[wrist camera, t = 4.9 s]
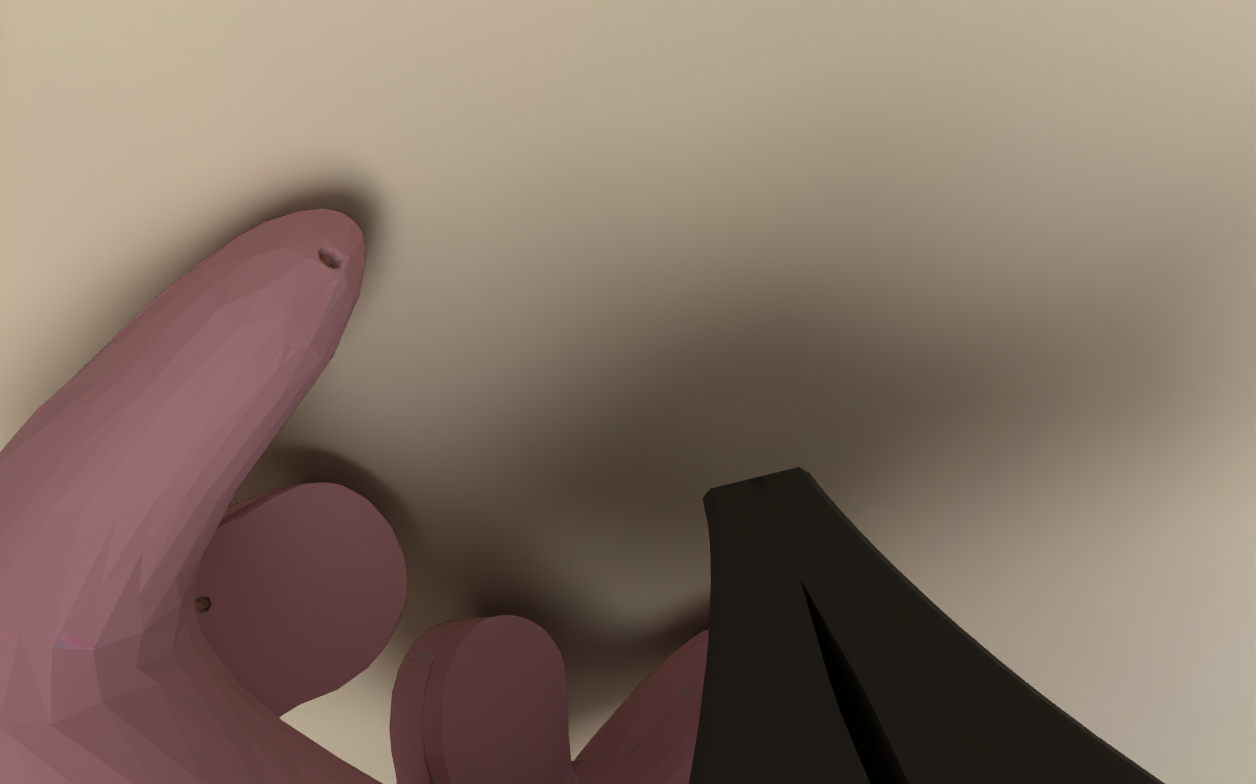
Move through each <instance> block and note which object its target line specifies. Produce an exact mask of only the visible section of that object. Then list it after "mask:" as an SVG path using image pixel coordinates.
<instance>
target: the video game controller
mask: <svg viewBox="0 0 1256 784" xmlns="http://www.w3.org/2000/svg"><path fill="white" fill-rule="evenodd" d="M365 260H366V252H365V244H364V237H363V232H362V231H361V229H360V228H359V226H358V225H357V224H356V223H355V222H354V221H353V220H351V219H350V218H349V217H348V216H346V215H345V214H344V213H341V212H337V211H334V210H328V209H323V208H322V209H314V210H306V211H298V212H294V213H291V214H288V215H285V216H281V217H278V218H274V219H270V220H266V221H264V222H262V223H260V224H258V225H257V226H255V227H253V228H251V229H249V230H248V231H246V232H244V233H242V234H240V235H238V236H237V237H235V238H234V239H232V240H231V241H230V242H228V243H227V244H225V245H224V246H223V247H221V248H220V249H218V250H217V251H216V252H214V253H213V254H211V255H210V256H209V257H207V258H206V259H204V260H203V261H202V262H200V263H199V264H197V265H196V266H195V267H193V268H192V269H191V270H190V271H189V272H187V273H186V274H185V275H184V276H182V277H181V278H180V279H179V280H178V281H176V282H175V283H174V284H173V285H171V286H170V287H169V288H168V289H167V290H165V291H164V292H163V293H162V294H160V295H159V296H158V297H157V298H156V299H154V300H153V301H152V302H151V303H149V304H148V305H147V306H146V307H145V308H143V309H142V310H141V311H140V312H139V313H138V314H137V315H136V316H135V317H134V318H133V319H132V320H131V321H130V322H129V323H128V324H127V325H126V326H125V327H124V328H123V329H122V330H121V331H120V332H119V333H118V334H117V335H116V336H115V337H114V338H113V339H112V340H111V341H110V342H109V343H108V344H107V345H106V346H105V347H104V348H103V349H102V350H101V351H100V352H99V353H98V354H97V355H96V356H95V357H94V358H93V359H92V360H91V361H89V362H88V363H87V364H86V365H85V366H84V367H83V368H82V369H81V370H80V371H79V372H78V373H77V374H76V375H75V376H74V377H73V378H72V379H71V380H70V381H69V382H68V383H67V384H65V385H64V386H63V387H62V388H61V389H60V390H59V391H58V392H56V393H55V394H54V395H53V396H52V397H51V398H50V399H49V400H47V401H46V402H45V403H44V404H43V405H42V406H41V407H40V408H38V410H37V411H36V412H35V413H34V414H33V415H32V416H31V417H30V418H29V419H28V420H27V422H26V423H25V424H24V425H23V426H22V427H21V429H20V430H19V431H18V432H17V433H16V435H15V436H14V437H13V438H12V439H11V440H10V442H9V443H8V444H7V445H6V446H5V447H4V449H3V450H2V451H1V452H0V784H382V783H380V782H379V781H377V780H375V779H374V778H372V777H370V776H369V775H367V774H365V773H364V772H362V771H360V770H358V769H357V768H355V767H353V766H352V765H350V764H348V763H347V762H345V761H343V760H342V759H340V758H338V757H337V756H335V755H334V754H332V753H331V752H329V751H327V750H326V749H324V748H323V747H321V746H320V745H318V744H317V743H315V742H314V741H312V740H311V739H309V738H308V737H306V736H305V735H303V734H302V733H300V732H299V731H297V730H296V729H294V728H293V727H291V726H290V725H288V724H287V723H285V722H284V721H282V720H281V719H280V718H279V717H280V716H282V715H283V714H285V713H287V712H288V711H290V710H291V709H293V708H295V707H296V706H298V705H300V704H302V703H304V702H307V701H309V700H312V699H315V698H317V697H320V696H322V695H325V694H327V693H330V692H333V691H335V690H338V689H339V688H340V687H342V686H343V685H344V684H346V683H347V682H349V681H350V680H351V679H353V678H354V677H355V676H357V675H358V674H360V673H361V672H362V671H364V670H365V669H366V668H368V667H369V666H370V664H371V663H372V662H373V661H374V660H375V658H376V657H377V656H378V655H379V654H380V652H381V651H382V650H383V649H384V648H385V646H386V645H387V643H388V641H389V640H390V638H391V636H392V634H393V633H394V631H395V628H396V626H397V624H398V621H399V619H400V616H401V614H402V611H403V607H404V604H405V601H406V597H407V580H408V579H407V570H406V561H405V558H404V555H403V553H402V550H401V547H400V544H399V542H398V540H397V538H396V536H395V534H394V531H393V529H392V527H391V526H390V524H389V523H388V522H387V521H386V519H385V518H384V517H383V516H382V514H381V513H380V512H379V511H378V510H377V509H376V508H375V507H374V506H373V505H372V504H371V503H370V502H369V500H367V499H366V498H364V497H363V496H361V495H359V494H358V493H356V492H355V491H353V490H351V489H348V488H346V487H344V486H342V485H339V484H333V483H327V482H319V483H308V484H300V485H295V486H290V487H285V488H280V489H275V490H272V491H269V492H266V493H263V494H260V495H257V496H254V497H252V498H249V499H246V500H243V501H241V502H239V503H236V504H234V505H232V506H230V507H229V505H230V503H231V501H232V500H233V498H234V496H235V494H236V492H237V490H238V488H239V487H240V485H241V483H242V482H243V481H244V479H245V478H246V476H247V475H248V474H249V472H250V471H251V469H252V468H253V467H254V465H255V464H256V463H257V461H258V460H259V458H260V457H261V456H262V454H263V453H264V451H265V450H266V449H267V447H268V446H269V445H270V443H271V442H272V440H273V439H274V438H275V436H276V435H277V433H278V432H279V431H280V429H281V428H282V426H283V425H284V424H285V422H286V421H287V420H288V418H289V417H290V415H291V414H292V413H293V411H294V410H295V408H296V407H297V406H298V404H299V403H300V402H301V400H302V399H303V397H304V396H305V395H306V393H307V392H308V390H309V389H310V388H311V386H312V385H313V384H314V382H315V381H316V379H317V378H318V377H319V375H320V374H321V372H322V371H323V370H324V368H325V367H326V365H327V364H328V363H329V361H330V360H331V359H332V357H333V355H334V353H335V350H336V348H337V346H338V343H339V341H340V339H341V336H342V334H343V332H344V329H345V327H346V325H347V322H348V320H349V318H350V315H351V313H352V310H353V308H354V306H355V303H356V301H357V299H358V296H359V293H360V287H361V282H362V276H363V271H364V266H365ZM708 634H709V629H707V630H705V631H703V632H700V633H698V634H697V635H696V636H694V637H693V638H692V639H690V640H689V641H688V642H686V643H685V644H684V645H682V646H681V647H680V648H678V649H677V650H676V651H675V652H674V653H672V654H671V655H670V656H669V657H668V658H667V659H666V660H665V661H664V662H663V663H662V664H661V665H659V666H658V667H657V668H656V669H655V670H654V671H653V672H652V673H651V674H650V675H649V676H648V677H646V678H645V679H644V680H643V681H642V682H641V683H640V684H639V685H638V686H637V688H636V689H635V690H634V691H633V692H632V693H631V694H630V696H629V697H628V698H627V699H626V700H625V701H624V702H623V703H622V705H621V706H620V707H619V708H618V709H617V710H616V711H615V712H614V714H613V715H612V716H611V717H610V718H609V719H608V720H607V722H606V723H605V724H604V725H603V726H602V727H601V728H600V729H599V731H598V732H597V733H596V734H595V735H594V736H593V738H592V739H591V740H590V741H589V743H588V744H587V745H586V746H585V748H584V749H583V750H582V751H581V753H580V754H579V755H578V756H577V758H576V759H575V760H574V761H571V755H570V745H569V734H568V683H567V677H566V670H565V665H564V662H563V659H562V656H561V653H560V651H559V649H558V648H557V646H556V644H555V643H554V641H553V640H552V638H551V637H550V636H549V634H548V633H547V632H546V631H545V630H544V629H543V628H541V627H540V626H539V625H537V624H536V623H534V622H532V621H530V620H528V619H526V618H523V617H519V616H514V615H499V616H491V617H479V618H471V619H463V620H455V621H448V622H445V623H442V624H438V625H436V626H435V627H433V628H431V629H430V630H428V631H426V632H425V633H424V634H423V635H422V636H421V637H419V638H418V639H417V640H416V641H415V642H414V644H413V645H412V647H411V648H410V649H409V651H408V652H407V654H406V656H405V658H404V660H403V662H402V664H401V666H400V668H399V670H398V674H397V678H396V681H395V685H394V688H393V692H392V702H391V715H390V740H391V752H392V757H393V762H394V767H395V772H396V779H397V784H689V779H690V773H691V768H692V762H693V756H694V750H695V744H696V738H697V731H698V725H699V717H700V708H701V700H702V692H703V684H704V676H705V668H706V659H707V649H708Z"/></svg>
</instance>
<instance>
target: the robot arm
mask: <svg viewBox="0 0 1256 784" xmlns="http://www.w3.org/2000/svg"><path fill="white" fill-rule="evenodd" d="M703 503H704V508H705V512H706V517H707V521H708V528H709V537H710V553H711V595H710V615H709V634H708V649H707V659H706V668H705V676H704V684H703V692H702V700H701V708H700V717H699V725H698V731H697V738H696V744H695V750H694V756H693V762H692V768H691V773H690V779H689V784H1165V783H1163V782H1162V781H1160V780H1159V779H1157V778H1156V777H1154V776H1153V775H1152V774H1150V773H1149V772H1147V771H1146V770H1144V769H1143V768H1142V767H1140V766H1139V765H1137V764H1136V763H1135V762H1133V761H1132V760H1130V759H1129V758H1127V757H1126V756H1125V755H1123V754H1122V753H1120V752H1119V751H1118V750H1116V749H1115V748H1113V747H1112V746H1110V745H1109V744H1108V743H1106V742H1105V741H1103V740H1102V739H1101V738H1099V737H1098V736H1096V735H1095V734H1094V733H1092V732H1091V731H1090V730H1088V729H1087V728H1086V727H1084V726H1083V725H1082V724H1080V723H1079V722H1078V721H1076V720H1075V719H1074V718H1072V717H1071V716H1070V715H1068V714H1067V713H1066V712H1064V711H1063V710H1062V709H1060V708H1059V707H1058V706H1056V705H1055V704H1054V703H1052V702H1051V701H1050V700H1048V699H1047V698H1046V697H1044V696H1043V695H1042V694H1041V693H1039V692H1038V691H1037V690H1036V689H1034V688H1033V687H1032V686H1030V685H1029V684H1028V683H1027V682H1025V681H1024V680H1023V679H1022V678H1020V677H1019V676H1018V675H1017V674H1015V673H1014V672H1013V671H1012V670H1011V669H1009V668H1008V667H1007V666H1006V665H1004V664H1003V663H1002V662H1001V661H1000V660H998V659H997V658H996V657H995V656H994V655H992V654H991V653H990V652H989V651H988V650H987V649H985V648H984V647H983V646H982V645H981V644H979V643H978V642H977V641H976V640H975V639H974V638H972V637H971V636H970V635H969V634H968V633H966V632H965V631H964V630H963V629H962V628H961V627H960V626H958V625H957V624H956V623H955V622H954V621H953V620H952V619H951V618H949V617H948V616H947V615H946V614H945V613H944V612H943V611H942V610H940V609H939V608H938V607H937V606H936V605H935V604H934V603H933V602H932V601H931V600H930V599H929V598H927V597H926V596H925V595H924V594H923V593H922V592H921V591H920V590H919V589H918V588H917V587H916V586H915V585H914V584H913V583H912V582H911V581H909V580H908V579H907V578H906V577H905V576H904V575H903V574H902V573H901V572H900V571H899V570H898V569H897V568H896V567H895V566H894V565H893V564H892V563H891V562H890V561H889V560H888V559H887V558H886V557H885V556H884V555H883V554H882V553H881V552H880V551H879V550H878V549H877V548H876V547H875V546H874V545H873V544H872V543H871V542H870V541H869V540H868V539H867V538H866V537H865V536H864V535H863V534H862V533H861V532H860V531H859V530H858V529H857V528H856V527H855V526H854V524H853V523H852V522H851V521H850V520H849V519H848V518H847V517H846V516H845V515H844V514H843V512H842V511H841V510H840V509H839V508H838V507H837V506H836V505H835V503H834V502H833V501H832V500H831V499H830V498H829V497H828V495H827V494H826V493H825V492H824V491H823V489H822V488H821V487H820V486H819V485H818V483H817V482H816V481H815V480H814V478H813V477H812V476H811V474H810V473H809V472H807V471H805V470H803V469H801V468H800V467H798V468H794V469H790V470H785V471H781V472H777V473H773V474H769V475H765V476H761V477H757V478H752V479H748V480H744V481H740V482H736V483H732V484H728V485H724V486H719V487H715V488H711V489H710V490H709V491H708V492H707V493H706V495H705V496H704V497H703Z"/></svg>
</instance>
